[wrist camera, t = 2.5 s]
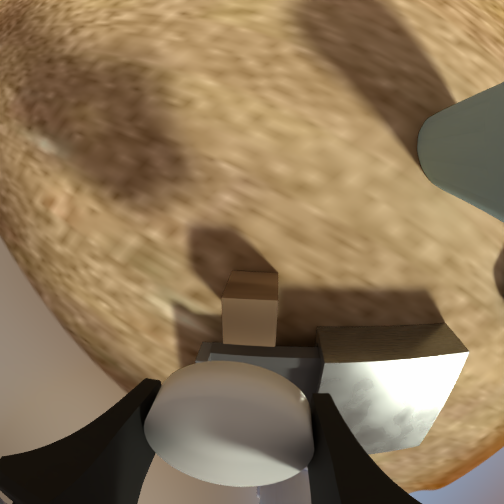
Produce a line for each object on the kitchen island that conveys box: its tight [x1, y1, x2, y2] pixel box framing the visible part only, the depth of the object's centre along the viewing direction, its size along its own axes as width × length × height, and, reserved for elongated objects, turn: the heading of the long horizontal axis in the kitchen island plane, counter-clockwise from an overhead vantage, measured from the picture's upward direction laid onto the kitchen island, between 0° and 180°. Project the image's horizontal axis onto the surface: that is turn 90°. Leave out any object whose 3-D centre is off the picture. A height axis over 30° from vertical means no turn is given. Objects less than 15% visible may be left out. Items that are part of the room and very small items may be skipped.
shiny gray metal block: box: [314, 323, 469, 454], centre depth 19 cm, size 11×11×4 cm
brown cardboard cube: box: [222, 271, 278, 347], centre depth 18 cm, size 3×3×4 cm
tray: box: [195, 342, 321, 405], centre depth 20 cm, size 9×10×2 cm
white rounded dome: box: [144, 361, 314, 487], centre depth 9 cm, size 6×6×2 cm
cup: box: [417, 82, 504, 222], centre depth 11 cm, size 8×8×10 cm
